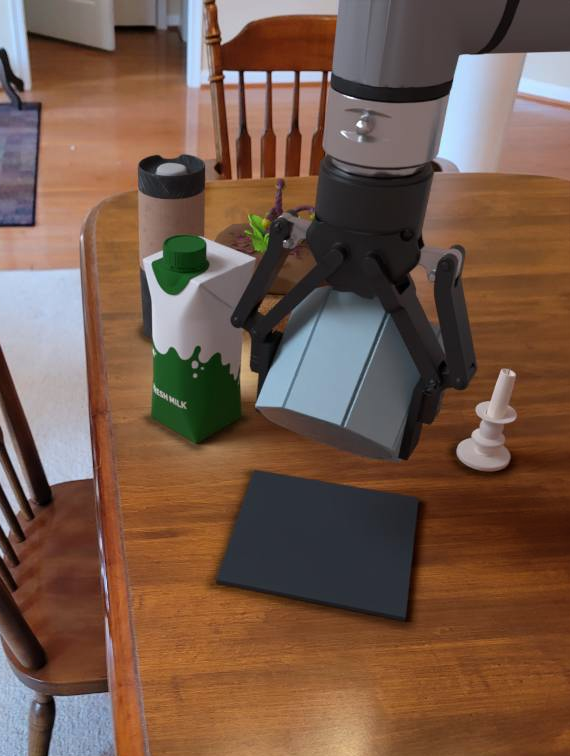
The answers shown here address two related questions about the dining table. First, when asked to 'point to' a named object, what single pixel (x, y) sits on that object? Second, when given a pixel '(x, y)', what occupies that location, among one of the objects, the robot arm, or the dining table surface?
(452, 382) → the robot arm
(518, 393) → the dining table surface
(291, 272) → the plant
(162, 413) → the milk carton
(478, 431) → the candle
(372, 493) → the mat
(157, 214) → the travel mug
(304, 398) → the pail
